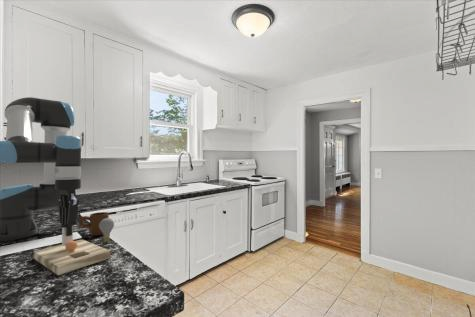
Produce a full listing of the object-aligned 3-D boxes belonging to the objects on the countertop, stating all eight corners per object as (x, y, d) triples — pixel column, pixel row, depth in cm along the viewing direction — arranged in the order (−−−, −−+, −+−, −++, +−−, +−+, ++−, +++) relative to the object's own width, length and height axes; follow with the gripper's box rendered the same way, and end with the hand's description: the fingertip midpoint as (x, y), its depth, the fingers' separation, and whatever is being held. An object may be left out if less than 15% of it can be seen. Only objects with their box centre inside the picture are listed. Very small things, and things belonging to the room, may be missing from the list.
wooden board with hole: (33, 258, 79) (33, 251, 79) (82, 245, 91) (82, 239, 91) (58, 275, 67) (58, 266, 67) (110, 257, 79) (110, 250, 79)
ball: (68, 247, 77) (66, 254, 78) (79, 244, 79) (77, 251, 80) (65, 240, 78) (63, 247, 79) (76, 237, 81) (74, 244, 82)
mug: (79, 239, 99) (79, 217, 99) (77, 235, 105) (77, 215, 105) (110, 233, 107) (110, 213, 107) (106, 230, 113) (106, 211, 113)
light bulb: (117, 240, 97) (117, 217, 97) (105, 245, 92) (106, 220, 92) (107, 239, 99) (107, 216, 99) (95, 243, 94) (96, 219, 94)
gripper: (48, 178, 83) (47, 244, 82) (62, 179, 75) (61, 251, 74) (72, 177, 89) (72, 238, 88) (87, 178, 81) (87, 244, 81)
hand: (67, 244), depth 81 cm, fingers closed
